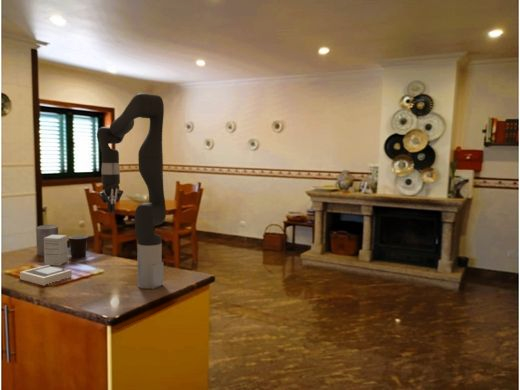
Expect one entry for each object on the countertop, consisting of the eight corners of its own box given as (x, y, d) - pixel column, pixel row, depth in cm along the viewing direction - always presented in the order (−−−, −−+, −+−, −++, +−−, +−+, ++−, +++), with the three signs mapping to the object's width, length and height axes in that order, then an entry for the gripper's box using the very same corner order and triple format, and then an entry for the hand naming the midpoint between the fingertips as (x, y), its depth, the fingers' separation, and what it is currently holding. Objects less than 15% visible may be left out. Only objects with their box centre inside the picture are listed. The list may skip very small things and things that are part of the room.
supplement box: (52, 260, 195) (52, 234, 194) (68, 261, 195) (67, 235, 193) (43, 264, 188) (43, 237, 186) (59, 265, 187) (59, 238, 186)
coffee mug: (83, 259, 198) (83, 239, 197) (65, 258, 198) (65, 238, 197) (93, 253, 210) (93, 234, 209) (76, 252, 210) (76, 233, 209)
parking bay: (71, 277, 172) (71, 270, 171) (43, 285, 160) (43, 278, 160) (48, 271, 178) (48, 264, 178) (20, 279, 167) (19, 272, 167)
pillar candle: (48, 250, 213) (47, 221, 212) (63, 252, 210) (62, 223, 209) (32, 254, 204) (31, 225, 202) (48, 256, 201) (47, 226, 199)
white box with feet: (66, 276, 173) (65, 269, 172) (48, 281, 166) (48, 274, 165) (51, 272, 177) (51, 265, 176) (34, 277, 170) (33, 270, 169)
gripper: (105, 174, 173) (106, 214, 175) (128, 173, 185) (128, 211, 187) (92, 173, 177) (93, 213, 178) (115, 172, 188) (116, 209, 190)
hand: (111, 212), depth 183 cm, fingers closed
